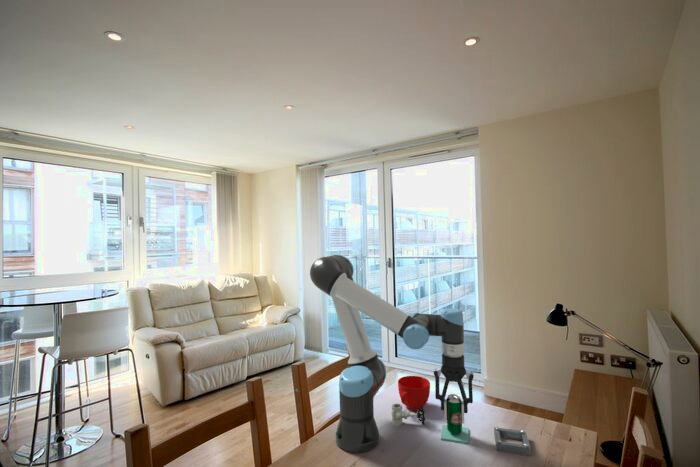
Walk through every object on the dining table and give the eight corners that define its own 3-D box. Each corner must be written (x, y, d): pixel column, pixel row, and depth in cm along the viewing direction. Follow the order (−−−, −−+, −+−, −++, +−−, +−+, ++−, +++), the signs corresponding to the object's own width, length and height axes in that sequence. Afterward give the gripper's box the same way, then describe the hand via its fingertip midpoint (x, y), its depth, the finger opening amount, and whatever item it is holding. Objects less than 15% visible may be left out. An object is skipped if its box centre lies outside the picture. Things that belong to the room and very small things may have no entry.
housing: (496, 450, 115) (496, 441, 115) (494, 434, 125) (493, 425, 125) (530, 455, 112) (530, 446, 112) (525, 438, 122) (525, 429, 122)
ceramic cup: (387, 412, 142) (387, 387, 142) (407, 396, 155) (406, 373, 155) (418, 422, 134) (417, 395, 134) (435, 404, 148) (435, 379, 148)
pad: (440, 439, 122) (440, 438, 122) (442, 426, 131) (442, 424, 131) (468, 443, 120) (468, 442, 120) (468, 429, 128) (468, 428, 128)
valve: (391, 427, 131) (425, 428, 130) (391, 409, 131) (424, 410, 130) (391, 418, 137) (423, 419, 136) (391, 401, 137) (423, 402, 136)
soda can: (452, 436, 122) (451, 401, 122) (444, 428, 127) (443, 394, 127) (465, 433, 124) (464, 398, 124) (456, 426, 128) (456, 392, 128)
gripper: (425, 355, 124) (426, 422, 124) (480, 359, 119) (482, 429, 119) (427, 348, 132) (429, 411, 132) (480, 352, 126) (481, 418, 126)
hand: (454, 420), depth 125 cm, fingers open, 5 cm apart
